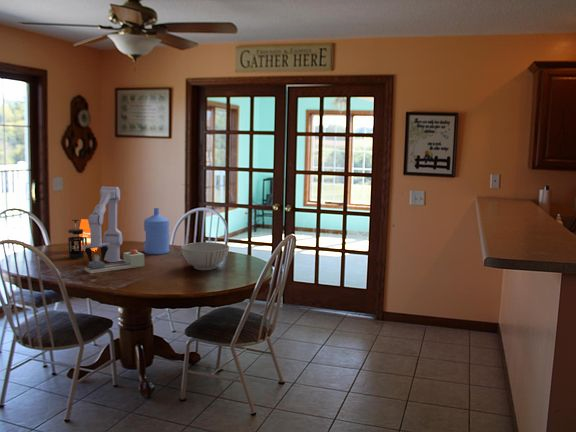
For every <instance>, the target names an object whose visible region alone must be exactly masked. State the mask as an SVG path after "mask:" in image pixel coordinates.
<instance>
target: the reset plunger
mask: <svg viewBox="0 0 576 432" xmlns="http://www.w3.org/2000/svg"><path fill="white" fill-rule="evenodd" d="M129 252H130V253H131V254H137V252H138V249H135V248H134V249H130V250H129Z"/></svg>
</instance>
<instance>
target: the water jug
mask: <svg viewBox="0 0 576 432" xmlns="http://www.w3.org/2000/svg"><path fill="white" fill-rule="evenodd" d="M143 229H144V230H143V231H144V232H145V240H144V243H143V245H144V248H143V249H144V250H143V252H144V254H147V255H164V254H168V253H169V252H170V219H169V218H167V217H165V216H162V215H161V214H160V208H158V207H156V208H153V215H151V216H149V217H147V218H144V220H143Z"/></svg>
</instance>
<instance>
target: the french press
mask: <svg viewBox="0 0 576 432" xmlns="http://www.w3.org/2000/svg"><path fill="white" fill-rule="evenodd" d="M71 221H73V222H74V227H75V228H71V229H68V230H67V232H68V234H73V235H74V236H70V237H67V243H68V252H67V253H68V254H67V255H68V257H67V258H68V259H69V258H71V259H70V260H79V259H78V258H82V259H85V258H84V257H86V256H85V253H86V252H85V251H84V249H82V246H81V241H82V245H84V238H85V245H87V237H79V236H77V235H79V234H83V230H84V229H79V228H77V222H78V221H80V220H79V219H77V218H76V219H75V218H74V219H71ZM76 242H78V243H76ZM81 249H82V251H81Z"/></svg>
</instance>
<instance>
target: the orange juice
mask: <svg viewBox="0 0 576 432" xmlns="http://www.w3.org/2000/svg"><path fill="white" fill-rule="evenodd" d="M78 229H84V230H83V234H78V235H79V236H78V237H87V245H88V244H91V239H90V228H89V223H88V218H86V219H83V218H82V219H81V220H80V225H79V228H78ZM84 245H85V238H84ZM81 246H82V241H81ZM90 249H91V250H92V251H94V252H96V251H98V250H97V249H98V248H90ZM95 250H96V251H95ZM81 251H82V249H81ZM84 251H85V250H84Z"/></svg>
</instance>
